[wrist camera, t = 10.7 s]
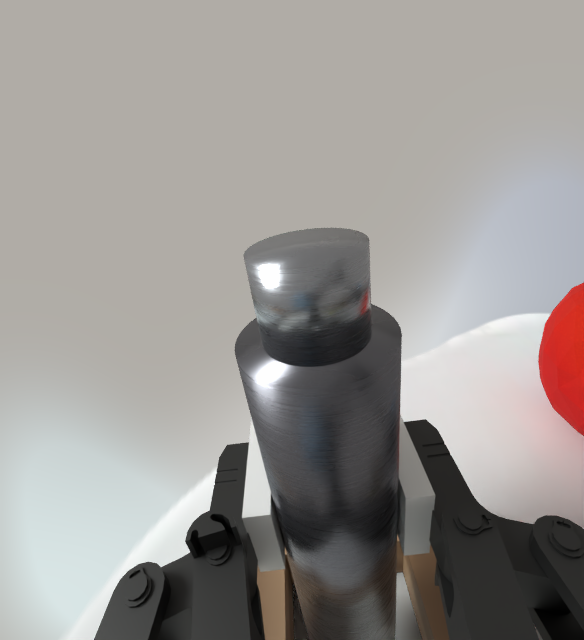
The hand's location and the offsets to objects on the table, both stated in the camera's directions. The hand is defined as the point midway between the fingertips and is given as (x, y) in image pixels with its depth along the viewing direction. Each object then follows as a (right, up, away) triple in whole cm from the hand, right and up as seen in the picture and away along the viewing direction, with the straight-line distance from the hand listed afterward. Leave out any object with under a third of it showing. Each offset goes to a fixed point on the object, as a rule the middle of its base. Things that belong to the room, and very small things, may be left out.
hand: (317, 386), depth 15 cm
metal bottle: (+1, -10, -1) cm, 10 cm away
